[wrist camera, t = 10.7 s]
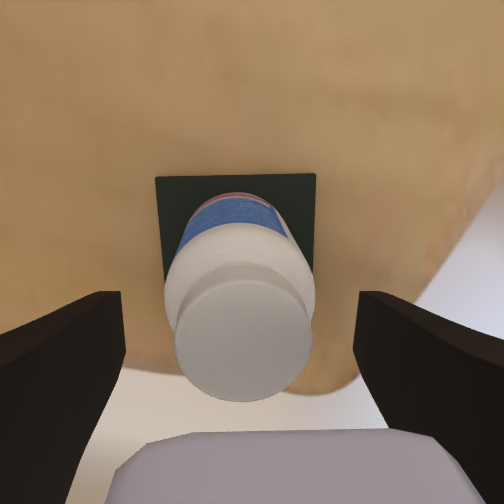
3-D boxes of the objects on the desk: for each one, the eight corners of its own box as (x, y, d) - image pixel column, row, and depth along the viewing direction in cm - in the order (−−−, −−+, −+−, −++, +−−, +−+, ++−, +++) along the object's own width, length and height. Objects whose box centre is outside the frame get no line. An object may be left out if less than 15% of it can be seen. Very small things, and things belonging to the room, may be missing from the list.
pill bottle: (162, 237, 20) (101, 335, 10) (242, 168, 19) (251, 208, 10) (232, 309, 21) (233, 451, 12) (309, 248, 20) (374, 350, 11)
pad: (167, 303, 21) (166, 306, 21) (156, 176, 19) (154, 177, 19) (310, 298, 22) (311, 301, 21) (314, 173, 19) (316, 174, 19)
